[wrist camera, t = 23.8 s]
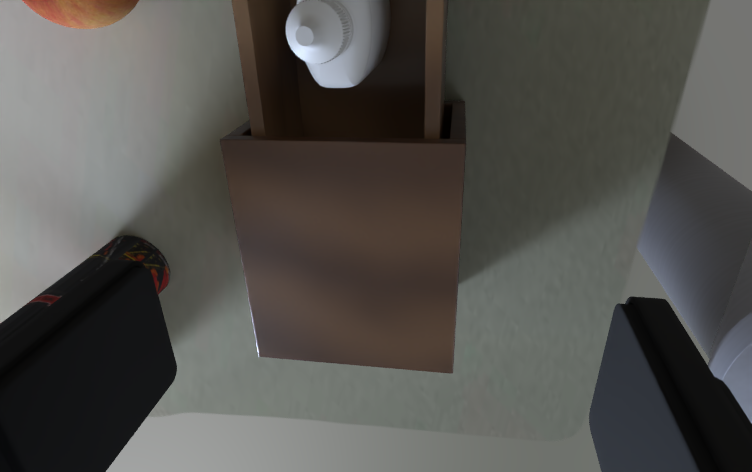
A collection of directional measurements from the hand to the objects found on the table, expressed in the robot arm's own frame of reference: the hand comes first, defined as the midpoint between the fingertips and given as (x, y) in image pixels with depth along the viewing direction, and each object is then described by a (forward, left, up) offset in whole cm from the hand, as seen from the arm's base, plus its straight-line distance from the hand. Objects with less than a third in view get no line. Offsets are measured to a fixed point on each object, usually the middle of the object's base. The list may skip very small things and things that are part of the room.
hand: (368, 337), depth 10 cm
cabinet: (+4, +8, -25) cm, 27 cm away
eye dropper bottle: (+4, -5, -23) cm, 24 cm away
